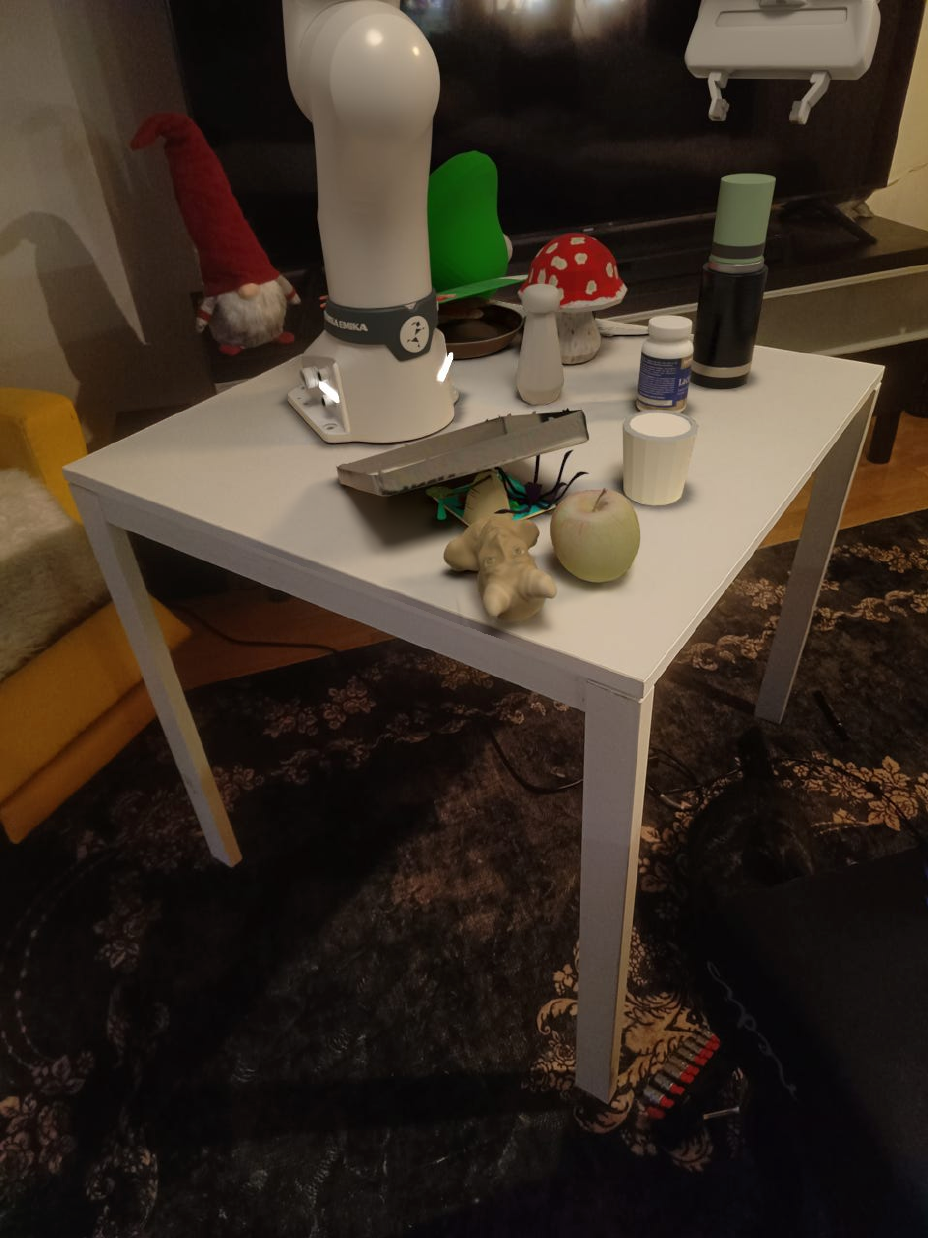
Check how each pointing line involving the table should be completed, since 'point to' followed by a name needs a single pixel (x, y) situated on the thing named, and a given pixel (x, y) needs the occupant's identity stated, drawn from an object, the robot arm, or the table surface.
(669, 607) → the table surface
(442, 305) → the stone tool
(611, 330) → the pocket knife
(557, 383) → the salt shaker
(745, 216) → the green cylinder
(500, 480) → the diorama
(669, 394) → the pill bottle
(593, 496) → the fruit
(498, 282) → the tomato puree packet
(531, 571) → the beige knobby lump
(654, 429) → the white cup
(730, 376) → the flask
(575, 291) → the decorative mushroom
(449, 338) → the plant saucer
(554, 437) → the decorative tile
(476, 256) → the toy
